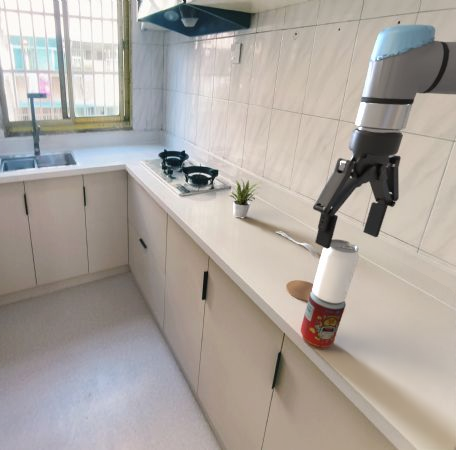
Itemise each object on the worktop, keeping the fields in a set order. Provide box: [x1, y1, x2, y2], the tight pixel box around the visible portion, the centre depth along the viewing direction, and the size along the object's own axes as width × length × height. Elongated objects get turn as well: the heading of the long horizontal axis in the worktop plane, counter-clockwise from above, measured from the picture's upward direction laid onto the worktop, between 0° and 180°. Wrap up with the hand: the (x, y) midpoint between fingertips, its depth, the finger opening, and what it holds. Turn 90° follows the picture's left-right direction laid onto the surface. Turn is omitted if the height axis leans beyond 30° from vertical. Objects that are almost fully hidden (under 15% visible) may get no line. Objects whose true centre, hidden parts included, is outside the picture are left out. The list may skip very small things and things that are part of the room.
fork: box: [275, 230, 320, 258], centre depth 122 cm, size 3×21×3 cm, turn 20°
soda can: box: [300, 291, 347, 350], centre depth 74 cm, size 7×7×12 cm
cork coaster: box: [285, 279, 314, 303], centre depth 95 cm, size 10×10×1 cm
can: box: [312, 238, 360, 304], centre depth 70 cm, size 6×6×12 cm
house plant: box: [227, 178, 262, 218], centre depth 141 cm, size 14×14×16 cm
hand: (347, 239), depth 67 cm, fingers open, 13 cm apart
